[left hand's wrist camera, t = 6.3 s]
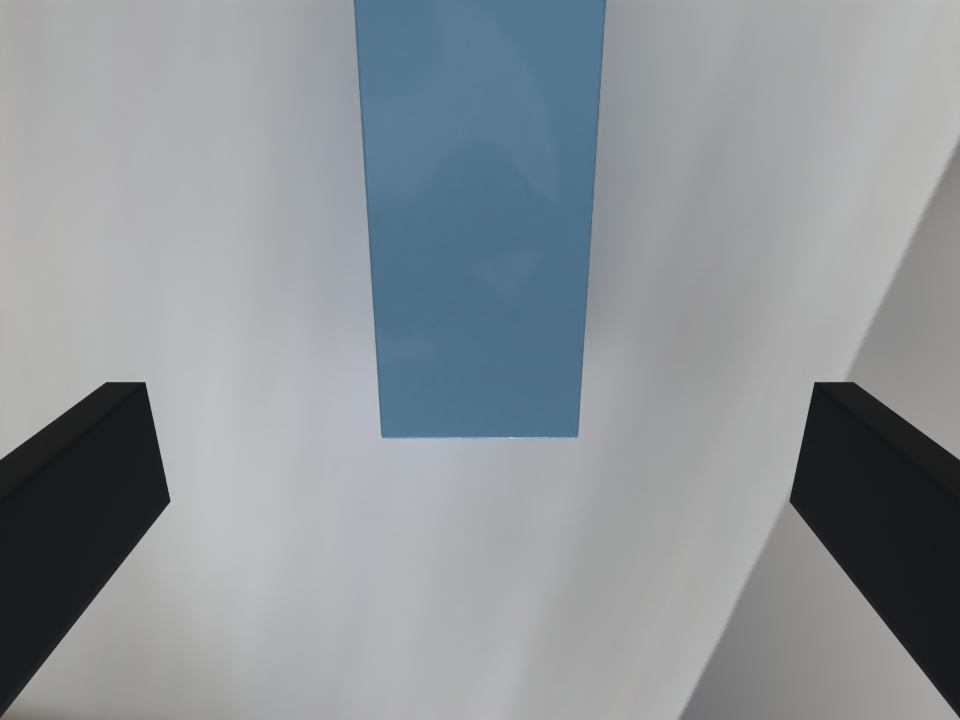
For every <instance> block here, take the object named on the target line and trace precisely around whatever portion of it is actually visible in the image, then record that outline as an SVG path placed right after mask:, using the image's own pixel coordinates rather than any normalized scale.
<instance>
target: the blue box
mask: <svg viewBox="0 0 960 720" xmlns="http://www.w3.org/2000/svg"><path fill="white" fill-rule="evenodd" d="M605 6H606V0H354V11H355V27H356V42H357V58H358V74H359V90H360V106H361V121H362V137H363V153H364V169H365V184H366V200H367V216H368V232H369V247H370V263H371V279H372V295H373V310H374V326H375V342H376V358H377V373H378V389H379V405H380V421H381V436H382V438H577V437H578V428H579V413H580V397H581V381H582V366H583V350H584V335H585V319H586V303H587V288H588V272H589V256H590V241H591V225H592V209H593V194H594V178H595V162H596V147H597V131H598V116H599V100H600V84H601V69H602V53H603V37H604V22H605Z"/></svg>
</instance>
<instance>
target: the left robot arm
mask: <svg viewBox="0 0 960 720" xmlns="http://www.w3.org/2000/svg"><path fill="white" fill-rule="evenodd" d="M169 503H170V497H169V492H168V487H167V482H166V478H165V473H164V468H163V463H162V459H161V454H160V449H159V445H158V440H157V435H156V430H155V426H154V421H153V416H152V411H151V407H150V402H149V397H148V393H147V388H146V383H145V382H106V383H105V384H103V385H102V386H100V387H99V388H98V389H96V390H95V391H94V392H92V393H91V394H90V395H88V396H87V397H86V398H84V399H83V400H81V401H80V402H79V403H77V404H76V405H75V406H73V407H72V408H71V409H69V410H68V411H66V412H65V413H64V414H62V415H61V416H60V417H58V418H57V419H56V420H54V421H53V422H51V423H50V424H49V425H47V426H46V427H45V428H43V429H42V430H41V431H39V432H38V433H37V434H35V435H34V436H32V437H31V438H30V439H28V440H27V441H26V442H24V443H23V444H22V445H20V446H19V447H17V448H16V449H15V450H13V451H12V452H11V453H9V454H8V455H7V456H5V457H4V458H2V459H1V460H0V718H1V716H2V715H3V714H4V713H5V711H6V710H7V709H8V708H9V706H10V705H11V704H12V702H13V701H14V700H15V699H16V697H17V696H18V695H19V694H20V692H21V691H22V690H23V688H24V687H25V686H26V685H27V683H28V682H29V681H30V680H31V678H32V677H33V676H34V674H35V673H36V672H37V671H38V669H39V668H40V667H41V666H42V664H43V663H44V662H45V661H46V659H47V658H48V657H49V655H50V654H51V653H52V652H53V650H54V649H55V648H56V647H57V645H58V644H59V643H60V641H61V640H62V639H63V638H64V636H65V635H66V634H67V633H68V631H69V630H70V629H71V627H72V626H73V625H74V624H75V622H76V621H77V620H78V619H79V617H80V616H81V615H82V613H83V612H84V611H85V610H86V608H87V607H88V606H89V605H90V603H91V602H92V601H93V599H94V598H95V597H96V596H97V594H98V593H99V592H100V591H101V589H102V588H103V587H104V585H105V584H106V583H107V582H108V580H109V579H110V578H111V577H112V575H113V574H114V573H115V571H116V570H117V569H118V568H119V566H120V565H121V564H122V563H123V561H124V560H125V559H126V557H127V556H128V555H129V554H130V552H131V551H132V550H133V549H134V547H135V546H136V545H137V543H138V542H139V541H140V540H141V538H142V537H143V536H144V535H145V533H146V532H147V531H148V529H149V528H150V527H151V526H152V524H153V523H154V522H155V521H156V519H157V518H158V517H159V515H160V514H161V513H162V512H163V510H164V509H165V508H166V507H167V505H168V504H169ZM790 503H791V504H792V505H793V507H794V508H795V509H796V510H797V512H798V513H799V514H800V515H801V517H802V518H803V519H804V521H805V522H806V523H807V524H808V526H809V527H810V528H811V529H812V531H813V532H814V533H815V535H816V536H817V537H818V538H819V540H820V541H821V542H822V543H823V545H824V546H825V547H826V549H827V550H828V551H829V552H830V554H831V555H832V556H833V557H834V559H835V560H836V561H837V563H838V564H839V565H840V566H841V568H842V569H843V570H844V571H845V573H846V574H847V575H848V576H849V578H850V579H851V580H852V582H853V583H854V584H855V585H856V587H857V588H858V589H859V590H860V592H861V593H862V594H863V596H864V597H865V598H866V599H867V601H868V602H869V603H870V604H871V606H872V607H873V608H874V610H875V611H876V612H877V613H878V615H879V616H880V617H881V618H882V620H883V621H884V622H885V624H886V625H887V626H888V627H889V629H890V630H891V631H892V633H893V634H894V635H895V636H896V638H897V639H898V640H899V641H900V643H901V644H902V645H903V647H904V648H905V649H906V650H907V652H908V653H909V654H910V655H911V657H912V658H913V659H914V661H915V662H916V663H917V664H918V666H919V667H920V668H921V669H922V671H923V672H924V673H925V674H926V676H927V677H928V678H929V680H930V681H931V682H932V683H933V685H934V686H935V687H936V688H937V690H938V691H939V692H940V694H941V695H942V696H943V697H944V699H945V700H946V701H947V702H948V704H949V705H950V706H951V708H952V709H953V710H954V711H955V713H956V714H957V715H958V716H959V718H960V460H959V459H957V458H956V457H955V456H953V455H952V454H951V453H949V452H948V451H947V450H945V449H944V448H943V447H941V446H940V445H938V444H937V443H936V442H934V441H933V440H932V439H930V438H929V437H928V436H926V435H925V434H923V433H922V432H921V431H919V430H918V429H917V428H915V427H914V426H912V425H911V424H910V423H908V422H907V421H906V420H904V419H903V418H902V417H900V416H899V415H898V414H896V413H895V412H894V411H892V410H891V409H889V408H888V407H887V406H885V405H884V404H883V403H881V402H880V401H879V400H877V399H876V398H874V397H873V396H872V395H870V394H869V393H868V392H866V391H865V390H864V389H862V388H861V387H859V386H858V385H857V384H855V383H854V382H815V383H814V388H813V393H812V397H811V402H810V407H809V411H808V416H807V421H806V426H805V430H804V435H803V440H802V445H801V449H800V454H799V459H798V463H797V468H796V473H795V478H794V482H793V487H792V492H791V497H790Z"/></svg>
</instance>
